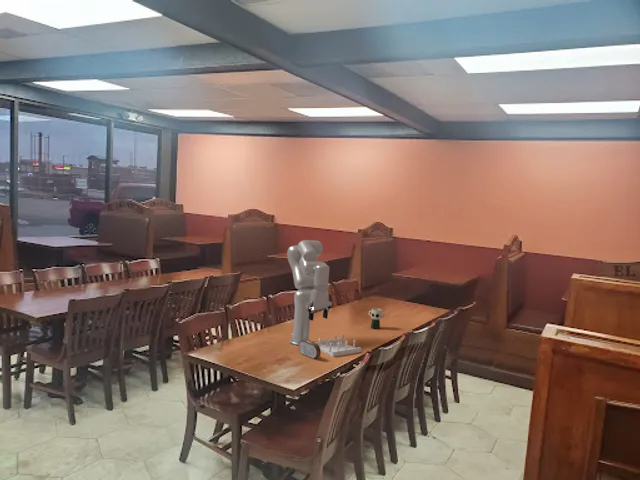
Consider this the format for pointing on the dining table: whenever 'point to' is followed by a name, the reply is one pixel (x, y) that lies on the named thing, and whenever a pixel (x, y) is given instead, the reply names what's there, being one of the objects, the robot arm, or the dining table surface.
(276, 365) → the dining table surface
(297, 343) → the robot arm
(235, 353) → the dining table surface
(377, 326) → the character mug
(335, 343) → the dish rack
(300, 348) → the tin
